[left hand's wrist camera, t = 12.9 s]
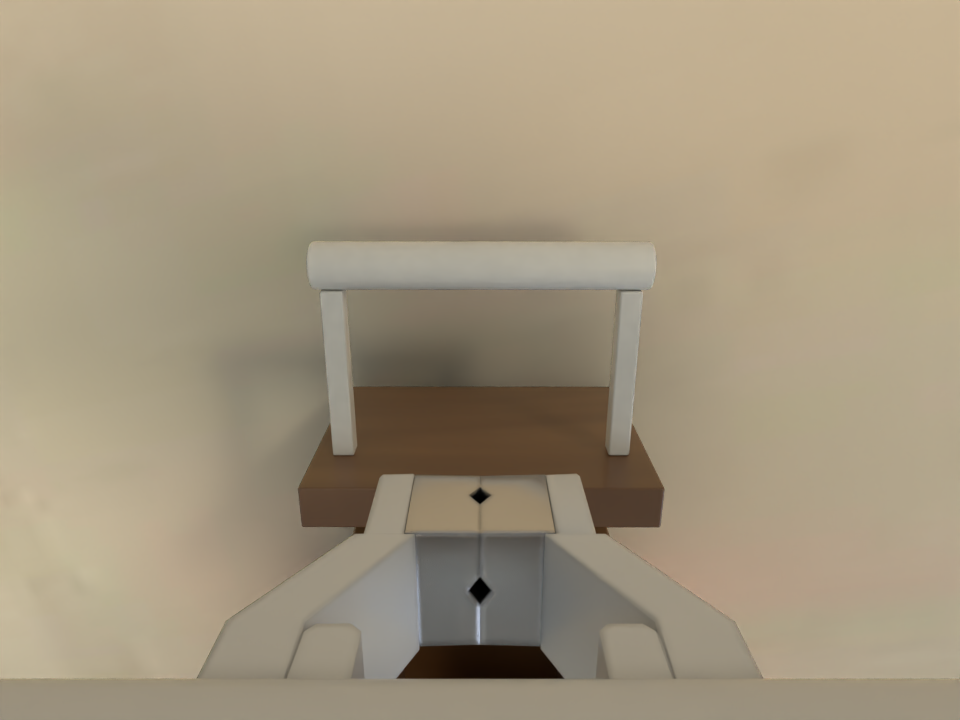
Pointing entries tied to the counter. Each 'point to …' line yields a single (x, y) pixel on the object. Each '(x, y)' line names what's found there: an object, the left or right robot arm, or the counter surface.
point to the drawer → (481, 405)
